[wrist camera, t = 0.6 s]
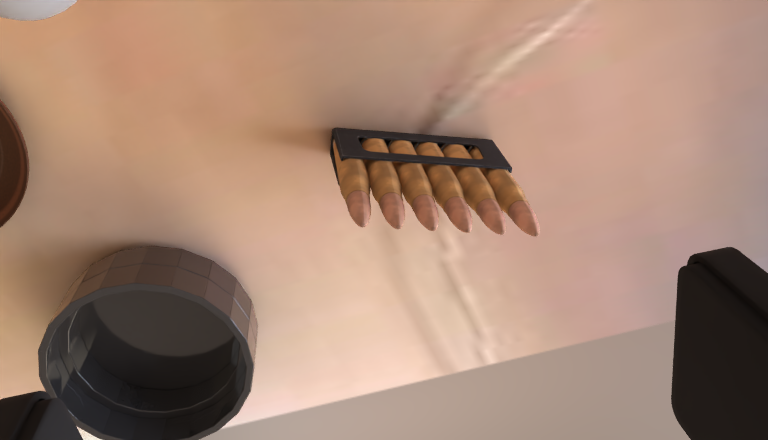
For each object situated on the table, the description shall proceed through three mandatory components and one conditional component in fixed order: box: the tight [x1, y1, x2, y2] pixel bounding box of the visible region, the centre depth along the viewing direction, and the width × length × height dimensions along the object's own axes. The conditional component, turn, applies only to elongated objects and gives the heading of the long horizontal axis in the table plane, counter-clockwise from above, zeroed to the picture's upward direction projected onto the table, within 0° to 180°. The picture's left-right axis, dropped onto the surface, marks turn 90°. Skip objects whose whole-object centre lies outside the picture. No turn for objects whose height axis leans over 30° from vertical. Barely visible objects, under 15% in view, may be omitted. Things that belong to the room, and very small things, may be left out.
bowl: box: [38, 246, 258, 440], centre depth 43 cm, size 13×13×6 cm
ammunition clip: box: [330, 128, 540, 236], centre depth 37 cm, size 11×2×12 cm, turn 83°
